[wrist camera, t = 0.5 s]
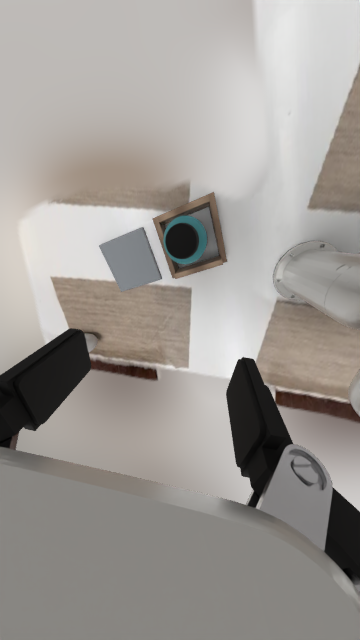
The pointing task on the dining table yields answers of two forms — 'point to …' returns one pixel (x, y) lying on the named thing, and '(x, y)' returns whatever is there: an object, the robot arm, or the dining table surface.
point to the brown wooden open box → (183, 211)
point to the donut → (91, 341)
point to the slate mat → (131, 260)
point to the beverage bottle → (185, 239)
